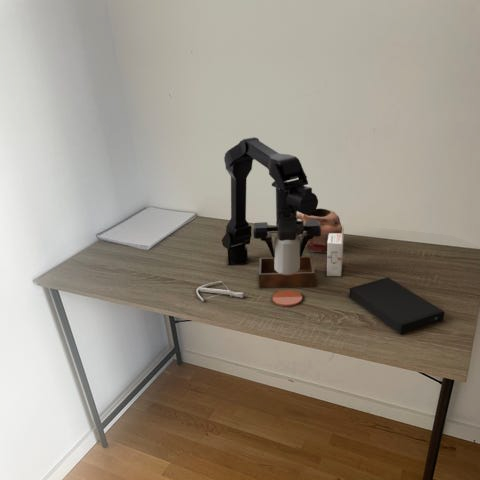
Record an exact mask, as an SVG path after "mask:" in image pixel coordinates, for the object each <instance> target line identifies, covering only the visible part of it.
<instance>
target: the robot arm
mask: <svg viewBox="0 0 480 480" xmlns="http://www.w3.org/2000/svg"><path fill="white" fill-rule="evenodd" d="M223 160H224V164H225V170H226V171H227V173H228V175H229V176H230V219H229V221H228V223H227V224H226V227H225V234H224V235H223V237H222V239H221V244H222V246H223V248H225V249H226V250H227V251H226V252H227V265H229V266H234V265H247V261H248V259H249V252H248V247H247V245H250V244H251V240H252V239H251V238H252V236H253V239H260V241H262V242H265V244H266V245H267V248H268V249H269V252H270V254H271V258H274V250H275V247H274V242H273V241H274V240H273V235H272V234H277V233H278V236H279V240H281V241H284V240H295V239H296V235H298V236H300V238H301V247H300V257H303V254H304V251H305V248H306V247H307V242H308V241H309V240H310V239H313V238H314V237H315V236H321V227H320V223H319V221H318V220H311V221H306V222H305V225H303V221H302V220H297V214H298V213H299V214H305V215H310V214H312V213H313V212H314V211H315V210H316V209H317V208H318V206H319V199H318V197H317V195H316V194H315V193H314V192H313V188H312V187H310V186H307V185H309V181H308V177H307V175H306V172H305V171H304V168H303V166H302V163H301V161H300V159H299V158H298V157H297V156H295V155H292V154H285V153H279V152H277V151H276V150H274V149H273V148H271V147H270V146H268V145H266V144H265V143H263V142H262V141H261V140H260V139H259V138H258V137H255V136H253V137H248V138H243V139H242V140H240V141H239V142H238V143H237V144H236V145H234V146H232V147H231V148H229V149H228V150H227V151H226V152H225V154H224V157H223ZM254 160H255V161H257V162H258V163H259V164H261V165H262V166H264V167H265V168H266V169H267V170H268V175H269V176H270V177H271V178H272V179H273V180H274V181H273V182H271V187H274V188H275V215H276V217H275V218H276V221H275V223H276V224H275V225H268V222H267V221H263V222H254V224H253V228H252V226H251V225H250V224H249V222H248V221H247V180H248V179H247V178H248V176H249V175H250V173H251V171H252V170H253V162H254ZM252 229H253V235H252Z"/></svg>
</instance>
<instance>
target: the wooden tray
mask: <svg viewBox="0 0 480 480" xmlns="http://www.w3.org/2000/svg"><path fill="white" fill-rule="evenodd" d="M258 261H259V263H258V288H259V289H277V288H278V289H279V288H311V287H312V288H313V287H315V284H316V283H315V281H316V280H315V279H316V277H315V275H316V272H315V267H314V261H313V256H311V255H310V256H309V255H308V256H307V255H306V256H302V257H300V269H299V271H297V272H296V273H295V274H293V275H281V274H279V273H278V272H277V271H276V270H275V268H274V258H273V257H259V260H258Z"/></svg>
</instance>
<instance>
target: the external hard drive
mask: <svg viewBox="0 0 480 480" xmlns="http://www.w3.org/2000/svg"><path fill="white" fill-rule="evenodd" d="M348 289H349V291H348V297H349V298H350V299H352V300H353V301H354V302H355V303H357V304H358V305H360V306H361V307H362V308H364V309H365V310H366V311H368V312H369V313H371V314H372V315H373V316H375V317H377V318H378V319H379V320H380V321H382V322H383V323H384V324H386V325H387V326H388V327H390V328H391V329H393V330H394V331H395V332H397V333H398V334H399V335H404V334H408V333H410V332H413V331H417V330H420V329H422V328H426V327H429V326H432V325H434V324H437V323H440V322H443V321H444V316H445V311H444V310H443V309H441V308H440V307H438V306H436V305H434V304H433V303H431V302H429V301H428V300H426V299H424V298H423V297H421V296H420V295H418V294H416V293H414V292H413V291H411V290H410V289H408V288H407V287H405V286H403V285H401V284H400V283H399V282H397V281H395V280H393V279H392V278H391V277H383V278H380V279H377V280H374V281H370V282H366V283H363V284H359V285H356V286H353V287H350V288H348Z"/></svg>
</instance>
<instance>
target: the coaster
mask: <svg viewBox="0 0 480 480" xmlns="http://www.w3.org/2000/svg"><path fill="white" fill-rule="evenodd" d="M302 301H303V295H302V294H301V293H300V292H299V291H296V290H291V289H283V290H279V291H276V292H275V293H274V294H273V295H272V302H273V303H274V304H276V305H277V306H281V307H293V306H296V305H299V304H300V303H302Z"/></svg>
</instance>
